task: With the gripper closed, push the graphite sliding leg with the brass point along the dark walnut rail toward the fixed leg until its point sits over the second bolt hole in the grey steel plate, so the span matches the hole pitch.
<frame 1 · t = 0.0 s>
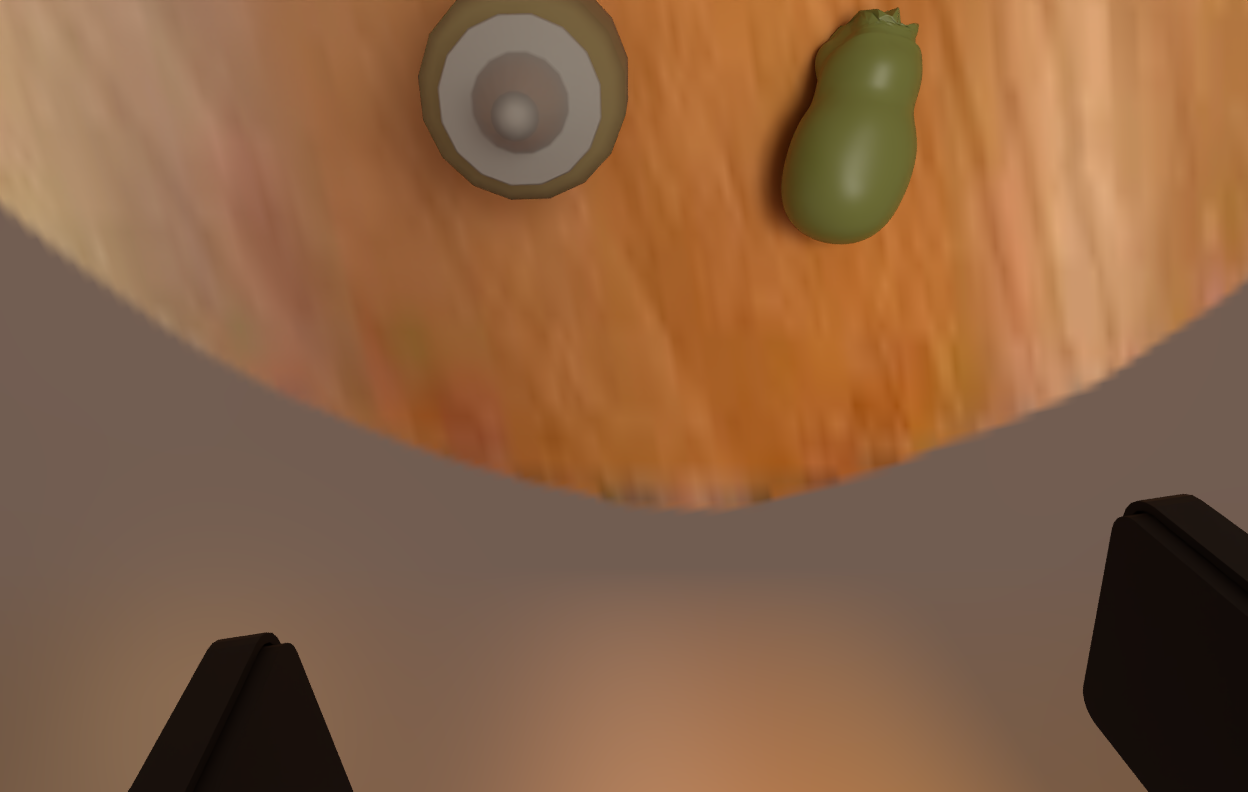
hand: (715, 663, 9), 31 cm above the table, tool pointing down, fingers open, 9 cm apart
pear: (837, 124, 37), on the table
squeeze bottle: (532, 75, 35), on the table
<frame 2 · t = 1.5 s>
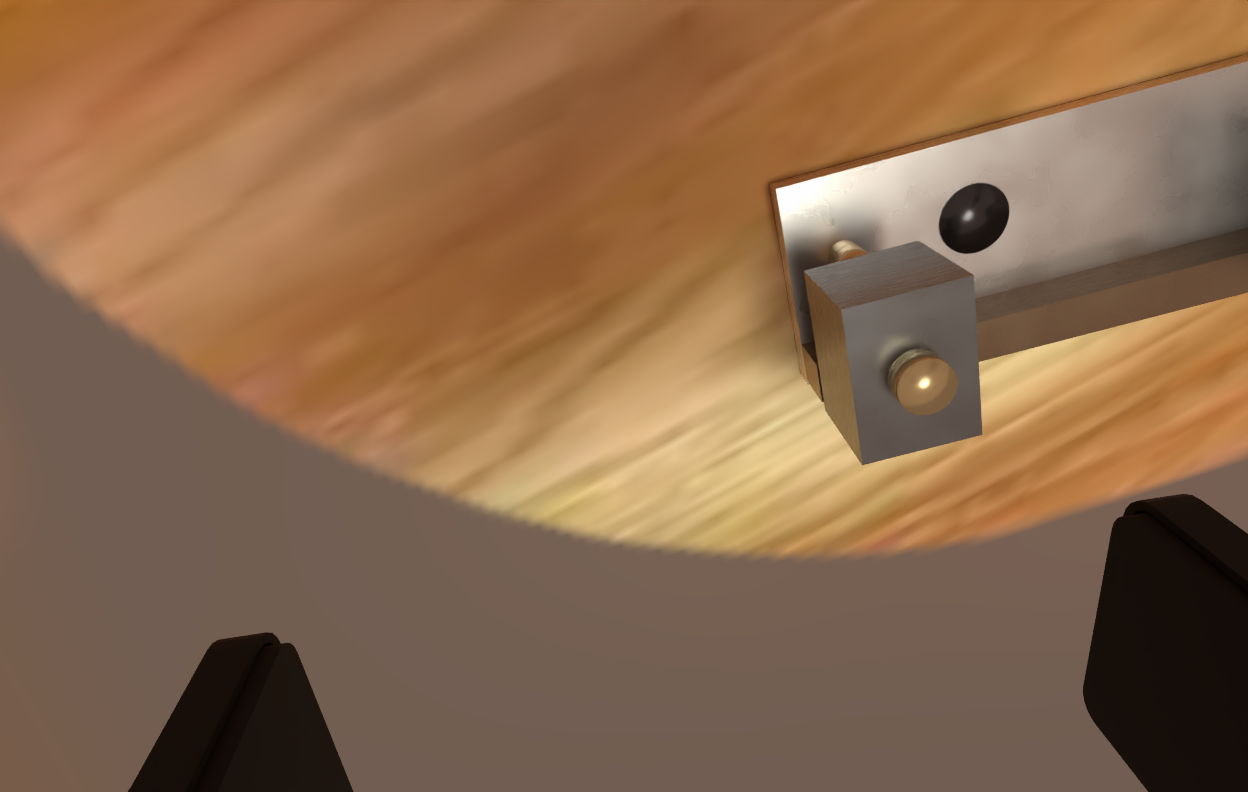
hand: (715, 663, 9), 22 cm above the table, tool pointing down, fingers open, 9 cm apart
bolt plate: (1090, 203, 30), on the table
sliding leg: (885, 345, 27), point 5 cm above the table, slide at 8.0 cm
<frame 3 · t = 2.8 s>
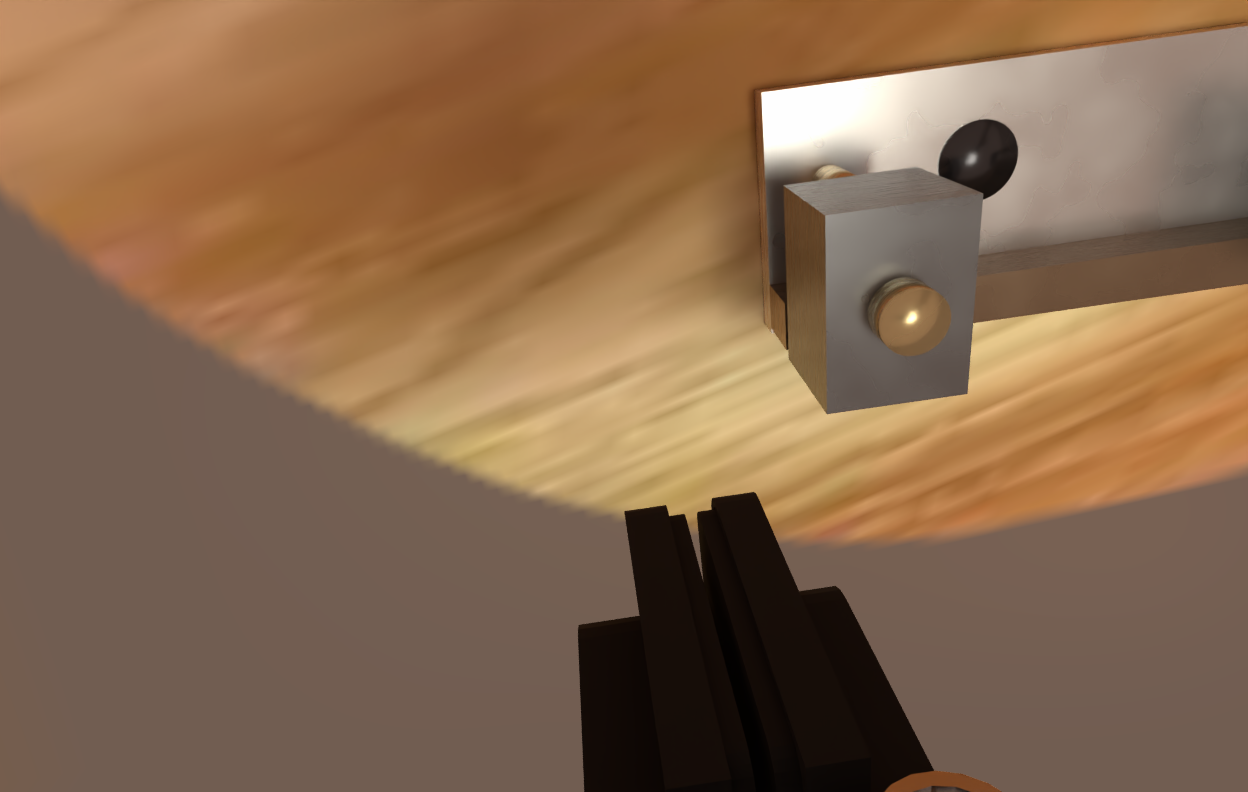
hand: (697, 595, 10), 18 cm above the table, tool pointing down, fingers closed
bolt plate: (1104, 166, 27), on the table
sliding leg: (866, 281, 23), point 5 cm above the table, slide at 8.0 cm
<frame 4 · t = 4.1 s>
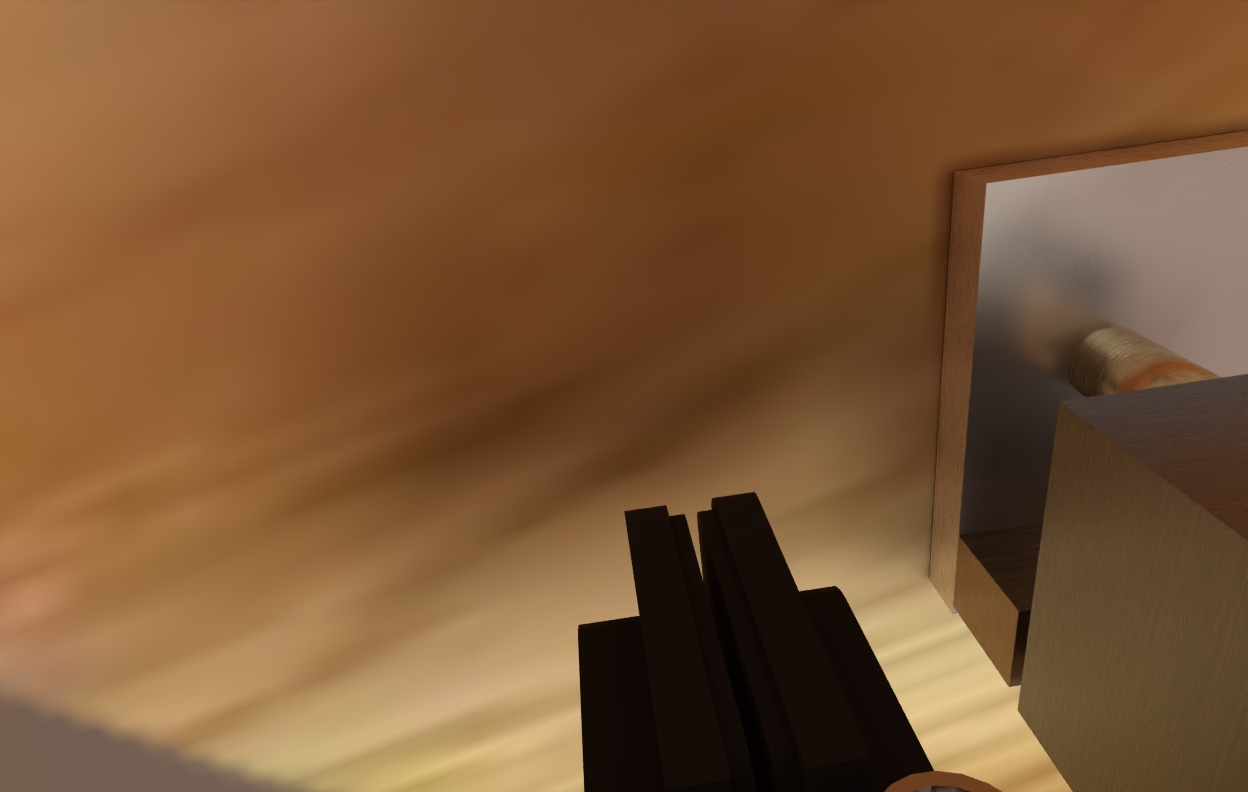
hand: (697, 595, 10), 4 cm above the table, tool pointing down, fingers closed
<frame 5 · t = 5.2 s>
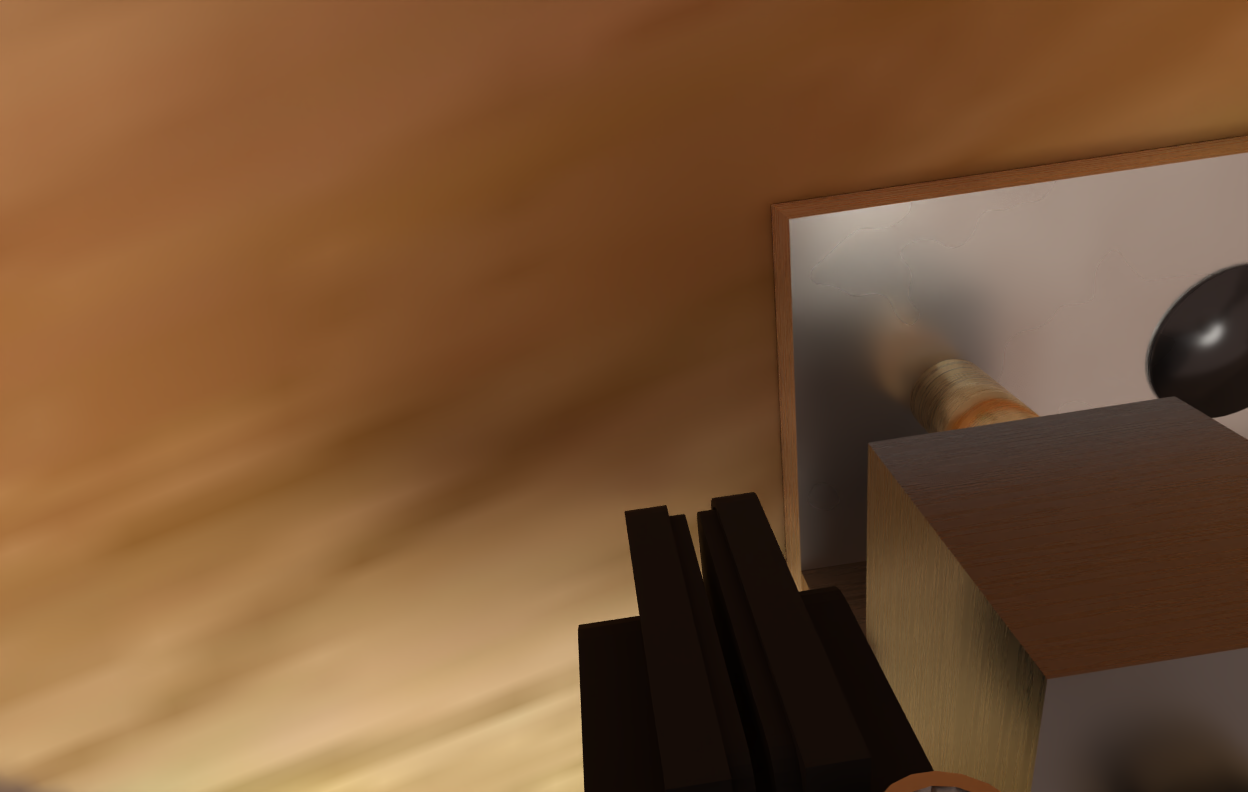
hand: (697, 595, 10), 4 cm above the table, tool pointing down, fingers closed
sliding leg: (1065, 668, 10), point 5 cm above the table, slide at 7.7 cm, touching gripper
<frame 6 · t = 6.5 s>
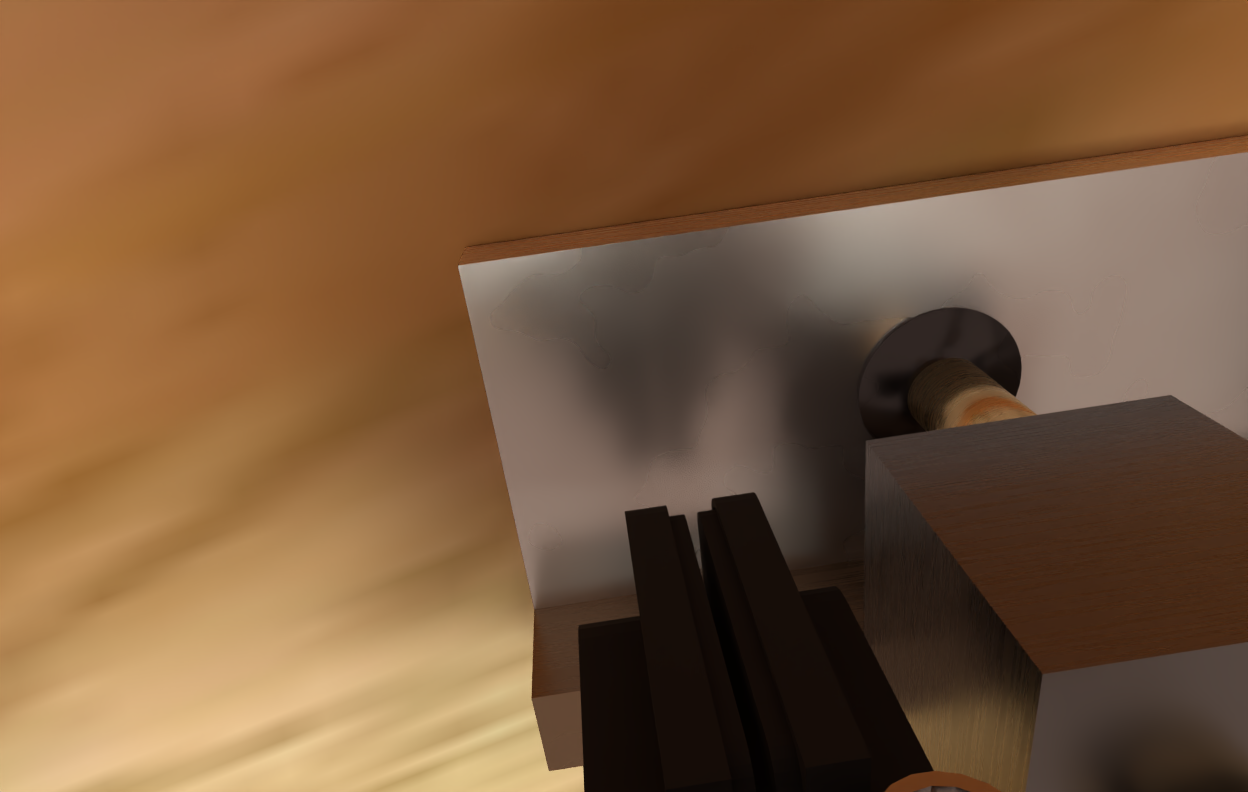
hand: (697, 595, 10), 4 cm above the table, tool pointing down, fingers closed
bolt plate: (1187, 371, 14), on the table
sliding leg: (1061, 666, 10), point 5 cm above the table, slide at 3.0 cm, touching gripper
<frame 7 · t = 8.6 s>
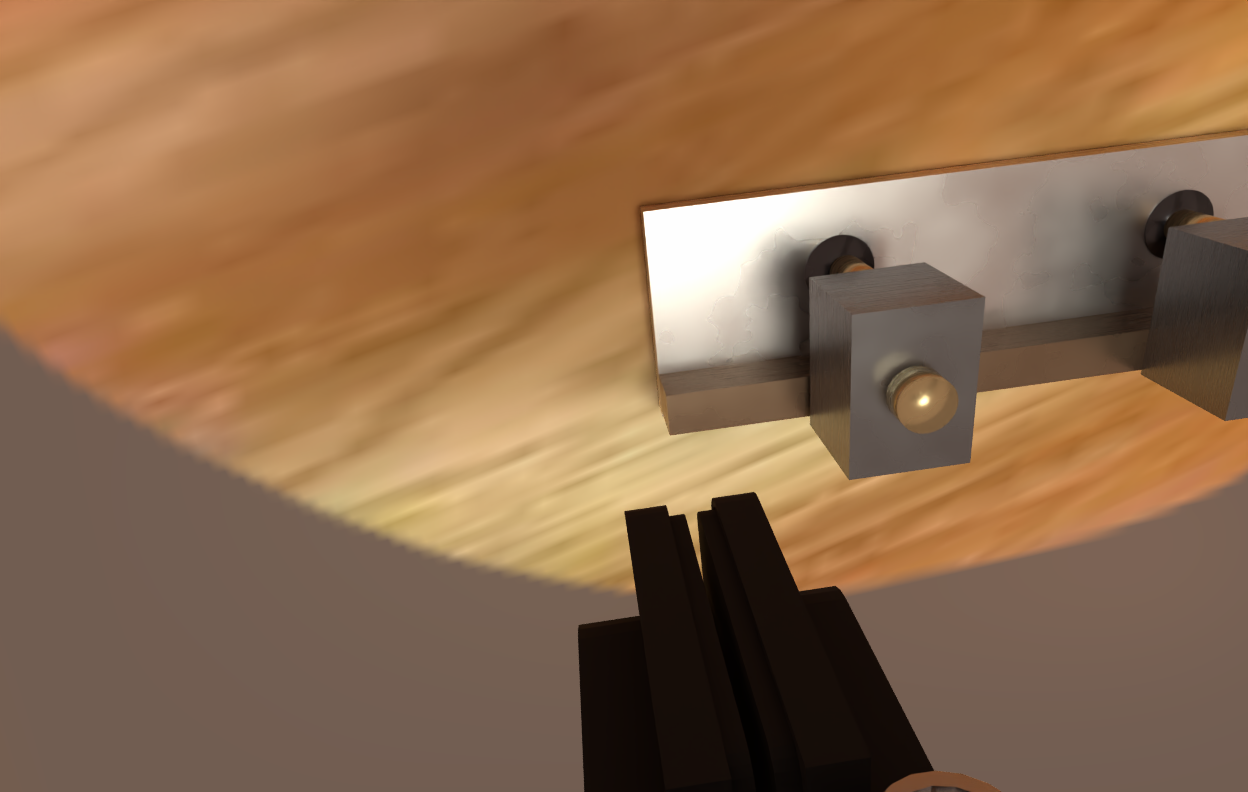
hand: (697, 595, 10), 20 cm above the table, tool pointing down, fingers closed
bolt plate: (956, 271, 30), on the table
sliding leg: (881, 362, 26), point 5 cm above the table, slide at 2.8 cm
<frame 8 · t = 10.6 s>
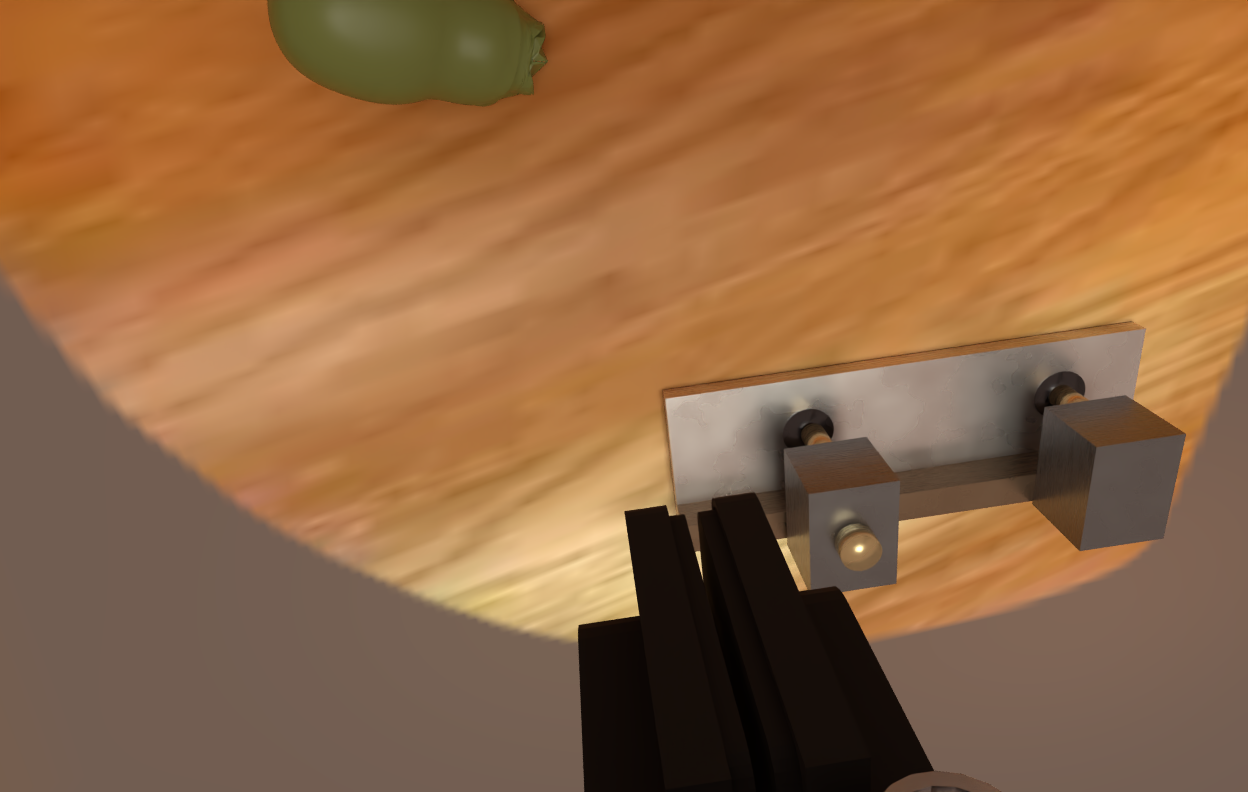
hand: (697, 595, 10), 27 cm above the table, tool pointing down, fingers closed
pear: (425, 30, 32), on the table
bolt plate: (896, 425, 41), on the table
sliding leg: (835, 509, 37), point 5 cm above the table, slide at 2.8 cm
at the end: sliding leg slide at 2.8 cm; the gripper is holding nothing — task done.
